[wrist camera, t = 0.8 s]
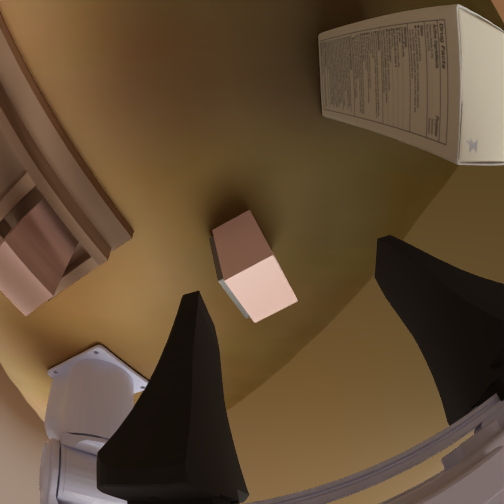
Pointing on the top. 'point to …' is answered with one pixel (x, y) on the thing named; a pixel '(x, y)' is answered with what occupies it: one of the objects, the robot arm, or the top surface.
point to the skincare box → (420, 81)
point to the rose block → (249, 268)
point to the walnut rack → (45, 196)
